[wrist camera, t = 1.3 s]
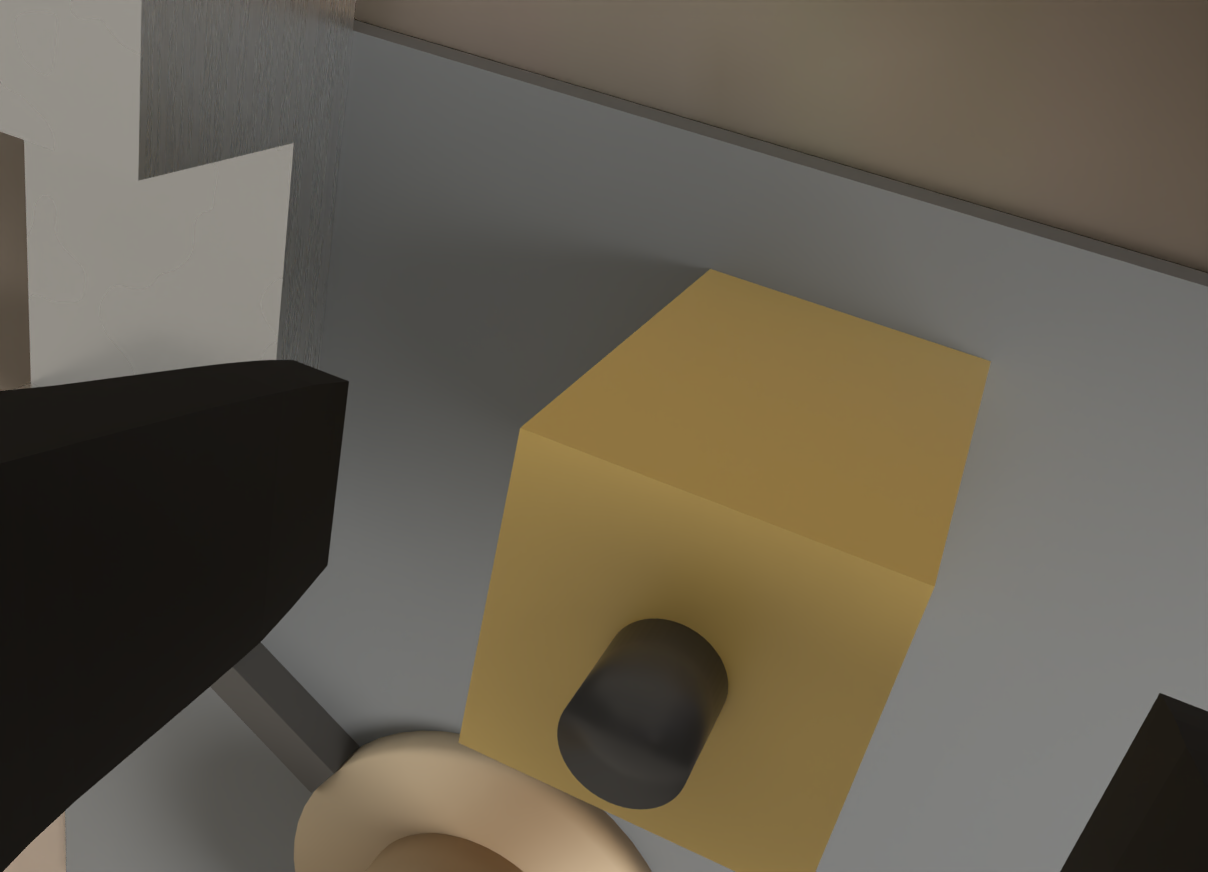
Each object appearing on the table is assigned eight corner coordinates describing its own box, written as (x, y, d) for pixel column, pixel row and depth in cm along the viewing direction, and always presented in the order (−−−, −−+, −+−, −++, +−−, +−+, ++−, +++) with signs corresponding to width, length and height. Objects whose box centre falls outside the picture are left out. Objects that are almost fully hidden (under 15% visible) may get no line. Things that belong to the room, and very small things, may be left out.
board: (1621, 395, 11) (1682, 447, 10) (956, 1353, 19) (947, 1441, 18) (86, -60, 15) (5, -61, 14) (89, 879, 23) (38, 926, 22)
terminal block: (356, -15, 13) (140, -3, 10) (300, 551, 17) (129, 681, 14) (82, -94, 14) (-189, -105, 11) (84, 458, 18) (-120, 560, 15)
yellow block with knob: (991, 360, 12) (914, 666, 7) (894, 602, 14) (772, 999, 8) (710, 268, 13) (456, 480, 8) (647, 505, 14) (399, 815, 9)
